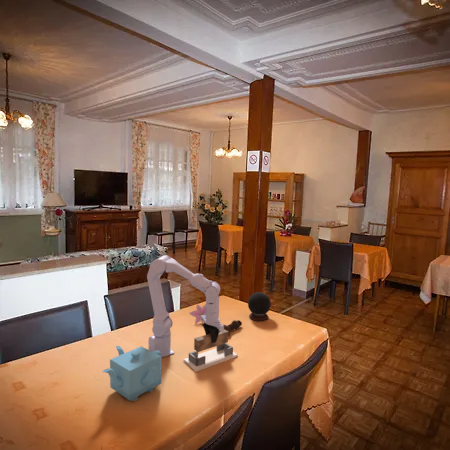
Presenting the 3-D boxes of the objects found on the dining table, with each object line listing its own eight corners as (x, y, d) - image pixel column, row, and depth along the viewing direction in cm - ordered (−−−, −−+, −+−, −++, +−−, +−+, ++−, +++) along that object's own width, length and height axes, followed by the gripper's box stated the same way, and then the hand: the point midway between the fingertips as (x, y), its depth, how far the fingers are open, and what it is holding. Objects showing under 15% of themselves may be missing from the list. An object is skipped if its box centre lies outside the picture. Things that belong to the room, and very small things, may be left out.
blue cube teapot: (162, 375, 138) (162, 340, 136) (158, 405, 119) (158, 365, 117) (114, 377, 135) (113, 341, 134) (102, 407, 117) (101, 366, 115)
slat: (198, 352, 145) (198, 340, 144) (194, 349, 147) (194, 338, 147) (227, 342, 155) (228, 331, 154) (223, 339, 157) (224, 329, 156)
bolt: (240, 329, 187) (224, 338, 175) (234, 323, 190) (218, 331, 177) (245, 322, 185) (229, 330, 173) (239, 315, 187) (223, 323, 175)
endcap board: (196, 371, 141) (196, 362, 140) (183, 361, 149) (183, 352, 148) (237, 356, 154) (237, 347, 154) (224, 347, 162) (224, 339, 162)
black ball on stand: (273, 316, 202) (275, 292, 200) (264, 324, 191) (265, 298, 189) (253, 311, 209) (254, 287, 207) (243, 318, 198) (244, 293, 196)
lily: (186, 322, 193) (186, 311, 187) (199, 309, 201) (199, 298, 195) (203, 333, 188) (204, 322, 182) (216, 319, 196) (217, 308, 191)
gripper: (229, 314, 146) (228, 344, 147) (210, 304, 157) (209, 332, 159) (216, 317, 141) (215, 349, 143) (197, 307, 153) (196, 336, 154)
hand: (211, 340), depth 151 cm, fingers closed on slat, 3 cm apart
